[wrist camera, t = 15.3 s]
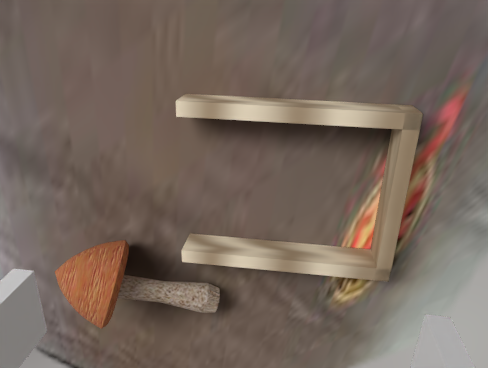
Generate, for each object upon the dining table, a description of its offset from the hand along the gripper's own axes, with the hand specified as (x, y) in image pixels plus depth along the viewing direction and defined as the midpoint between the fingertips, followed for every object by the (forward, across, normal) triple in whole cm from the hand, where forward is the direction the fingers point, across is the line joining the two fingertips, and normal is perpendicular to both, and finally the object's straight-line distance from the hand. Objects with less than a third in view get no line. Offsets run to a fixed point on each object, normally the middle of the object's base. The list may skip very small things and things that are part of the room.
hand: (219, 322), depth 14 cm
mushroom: (+20, -4, -17) cm, 26 cm away
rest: (+22, +1, -4) cm, 22 cm away
